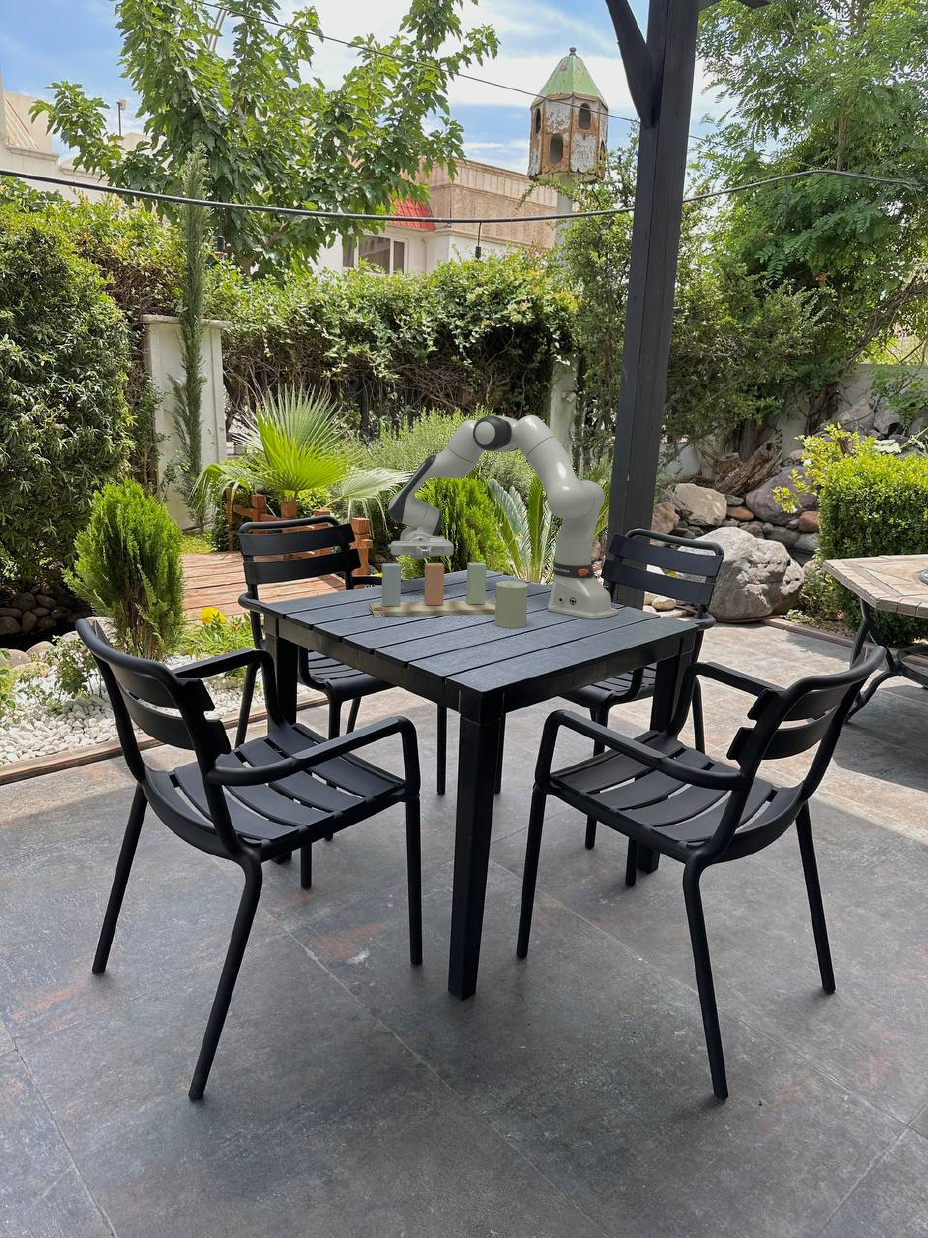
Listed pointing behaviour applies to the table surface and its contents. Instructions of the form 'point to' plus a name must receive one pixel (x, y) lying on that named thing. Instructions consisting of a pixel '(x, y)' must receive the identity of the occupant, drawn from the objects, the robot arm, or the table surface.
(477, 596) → the sage key
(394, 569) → the slate key
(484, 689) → the table surface
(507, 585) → the can
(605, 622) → the table surface
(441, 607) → the wooden board
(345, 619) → the table surface
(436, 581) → the terracotta key
